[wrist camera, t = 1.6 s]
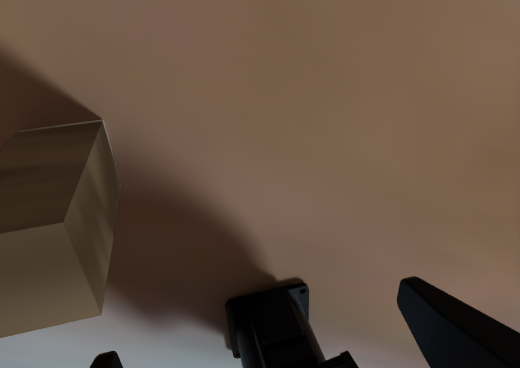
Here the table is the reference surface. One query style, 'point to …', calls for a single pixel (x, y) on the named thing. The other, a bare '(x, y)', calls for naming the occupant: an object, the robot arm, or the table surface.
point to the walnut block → (56, 225)
